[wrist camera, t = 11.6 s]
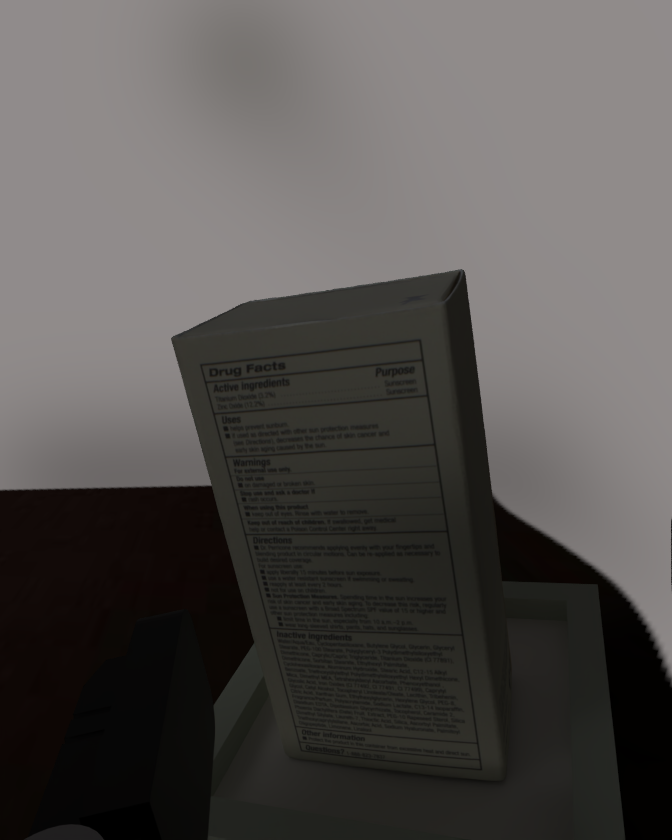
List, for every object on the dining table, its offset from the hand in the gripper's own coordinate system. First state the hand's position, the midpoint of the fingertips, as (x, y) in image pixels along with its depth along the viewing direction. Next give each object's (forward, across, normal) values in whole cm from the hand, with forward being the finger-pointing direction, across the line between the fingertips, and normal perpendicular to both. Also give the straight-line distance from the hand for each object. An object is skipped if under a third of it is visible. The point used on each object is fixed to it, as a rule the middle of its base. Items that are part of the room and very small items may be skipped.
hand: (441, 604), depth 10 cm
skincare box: (+6, 0, +8) cm, 10 cm away
